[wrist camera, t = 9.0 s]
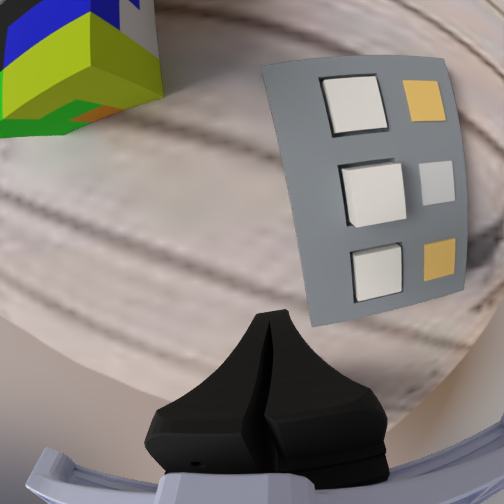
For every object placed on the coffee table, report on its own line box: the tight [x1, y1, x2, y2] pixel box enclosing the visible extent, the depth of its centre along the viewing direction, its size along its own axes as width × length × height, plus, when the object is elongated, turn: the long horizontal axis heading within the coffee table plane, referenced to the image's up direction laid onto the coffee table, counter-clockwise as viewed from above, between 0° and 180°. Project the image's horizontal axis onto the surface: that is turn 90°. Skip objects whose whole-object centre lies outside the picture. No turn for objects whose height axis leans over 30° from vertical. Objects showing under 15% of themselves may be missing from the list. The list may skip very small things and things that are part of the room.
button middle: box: [342, 162, 406, 228], centre depth 17 cm, size 4×4×2 cm
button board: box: [261, 55, 468, 327], centre depth 19 cm, size 19×14×2 cm
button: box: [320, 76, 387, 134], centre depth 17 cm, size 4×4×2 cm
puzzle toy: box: [0, 0, 164, 138], centre depth 13 cm, size 10×10×10 cm
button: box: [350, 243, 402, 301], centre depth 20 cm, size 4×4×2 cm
